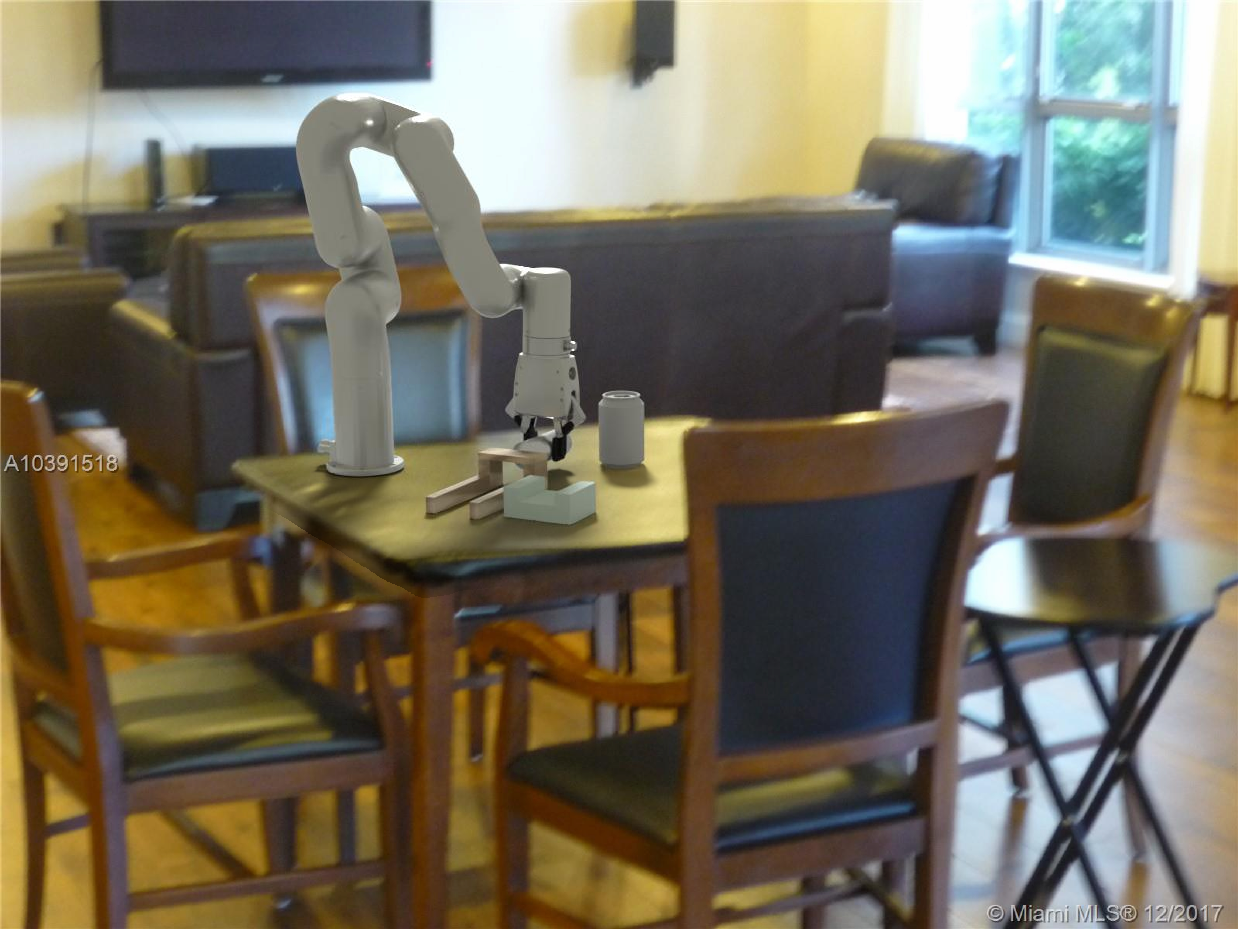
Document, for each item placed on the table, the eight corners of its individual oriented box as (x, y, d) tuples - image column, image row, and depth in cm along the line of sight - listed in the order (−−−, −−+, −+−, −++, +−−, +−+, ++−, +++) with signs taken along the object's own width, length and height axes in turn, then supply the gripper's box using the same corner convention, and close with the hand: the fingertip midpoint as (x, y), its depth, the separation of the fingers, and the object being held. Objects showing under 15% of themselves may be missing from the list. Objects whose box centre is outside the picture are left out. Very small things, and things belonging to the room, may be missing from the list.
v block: (503, 516, 250) (503, 486, 249) (530, 504, 257) (530, 475, 256) (570, 525, 245) (570, 494, 244) (595, 512, 252) (595, 482, 251)
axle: (534, 472, 269) (537, 446, 268) (510, 465, 271) (513, 439, 270) (570, 457, 280) (573, 432, 279) (546, 451, 282) (550, 425, 280)
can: (646, 460, 285) (646, 389, 282) (642, 470, 278) (642, 397, 275) (601, 459, 286) (600, 388, 283) (596, 469, 279) (595, 397, 276)
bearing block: (423, 512, 253) (422, 474, 251) (492, 483, 270) (491, 447, 269) (481, 520, 248) (480, 481, 247) (547, 489, 266) (547, 453, 264)
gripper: (604, 348, 272) (601, 460, 276) (511, 338, 279) (510, 447, 283) (582, 354, 265) (580, 469, 269) (488, 344, 272) (487, 456, 276)
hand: (544, 456), depth 276 cm, fingers closed on axle, 4 cm apart
